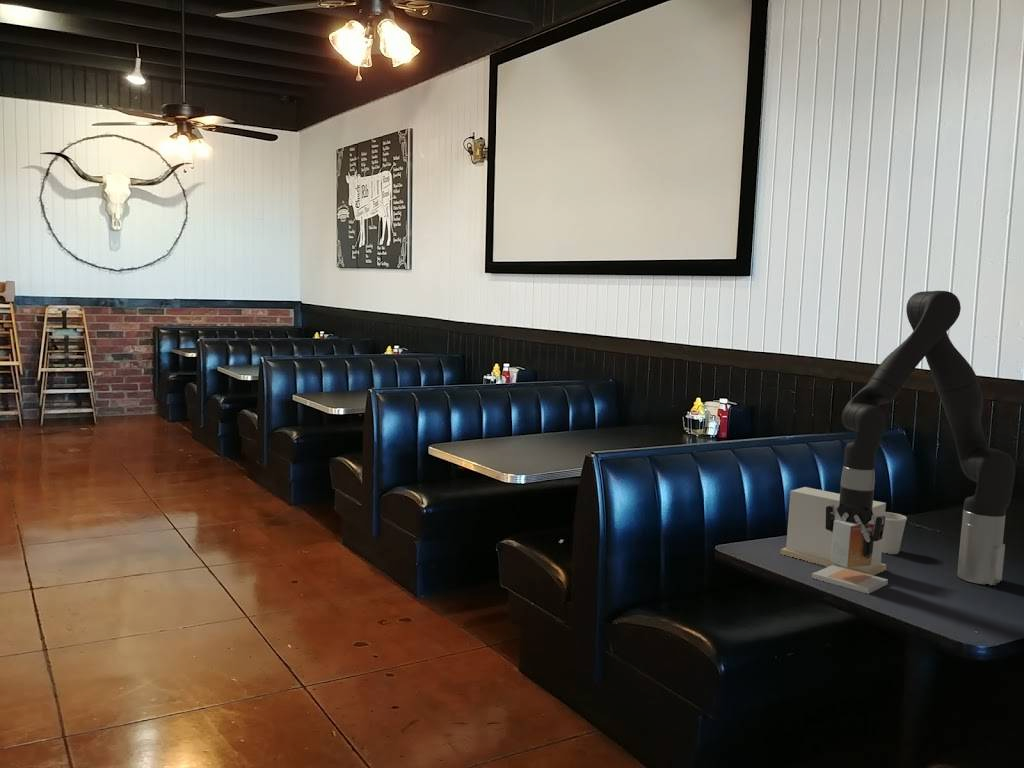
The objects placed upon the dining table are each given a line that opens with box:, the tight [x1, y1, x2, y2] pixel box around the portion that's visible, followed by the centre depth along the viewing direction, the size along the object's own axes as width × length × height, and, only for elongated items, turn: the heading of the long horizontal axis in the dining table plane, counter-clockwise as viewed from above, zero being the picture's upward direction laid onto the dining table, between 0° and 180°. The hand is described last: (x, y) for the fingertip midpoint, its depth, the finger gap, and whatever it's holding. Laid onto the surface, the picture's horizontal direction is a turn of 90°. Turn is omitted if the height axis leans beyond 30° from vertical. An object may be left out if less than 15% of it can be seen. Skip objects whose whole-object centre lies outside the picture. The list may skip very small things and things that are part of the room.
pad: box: [811, 565, 889, 595], centre depth 210 cm, size 14×11×1 cm
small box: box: [831, 520, 875, 568], centre depth 209 cm, size 8×6×10 cm
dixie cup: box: [882, 511, 908, 555], centre depth 237 cm, size 8×8×10 cm
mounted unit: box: [779, 486, 887, 576], centre depth 224 cm, size 24×10×18 cm, turn 44°
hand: (851, 552), depth 209 cm, fingers closed on small box, 6 cm apart
